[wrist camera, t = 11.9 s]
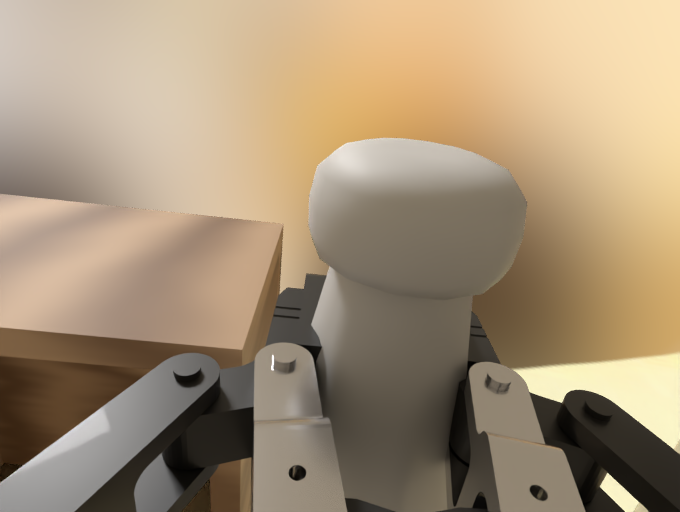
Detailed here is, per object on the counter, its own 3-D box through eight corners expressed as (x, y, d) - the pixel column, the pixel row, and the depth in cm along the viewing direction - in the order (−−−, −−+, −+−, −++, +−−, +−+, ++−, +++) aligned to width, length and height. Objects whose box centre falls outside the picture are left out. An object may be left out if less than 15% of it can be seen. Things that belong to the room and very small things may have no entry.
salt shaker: (429, 706, 11) (639, 229, 5) (220, 627, 12) (216, 154, 6) (439, 500, 16) (551, 147, 11) (292, 456, 17) (325, 112, 12)
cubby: (269, 469, 33) (283, 223, 24) (237, 651, 23) (242, 349, 14) (-2, 447, 32) (-91, 184, 23) (-153, 626, 23) (-405, 289, 14)
